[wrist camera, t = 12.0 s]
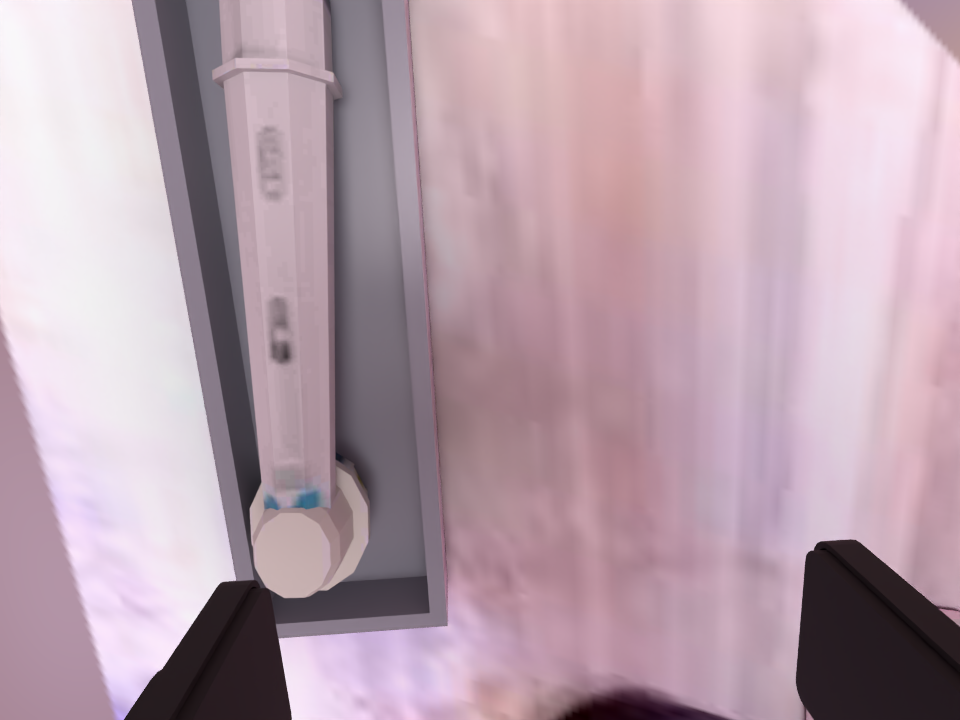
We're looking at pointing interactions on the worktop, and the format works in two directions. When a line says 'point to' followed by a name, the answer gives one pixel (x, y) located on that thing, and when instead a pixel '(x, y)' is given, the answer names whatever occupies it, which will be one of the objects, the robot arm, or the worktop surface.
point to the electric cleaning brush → (290, 288)
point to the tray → (358, 302)
